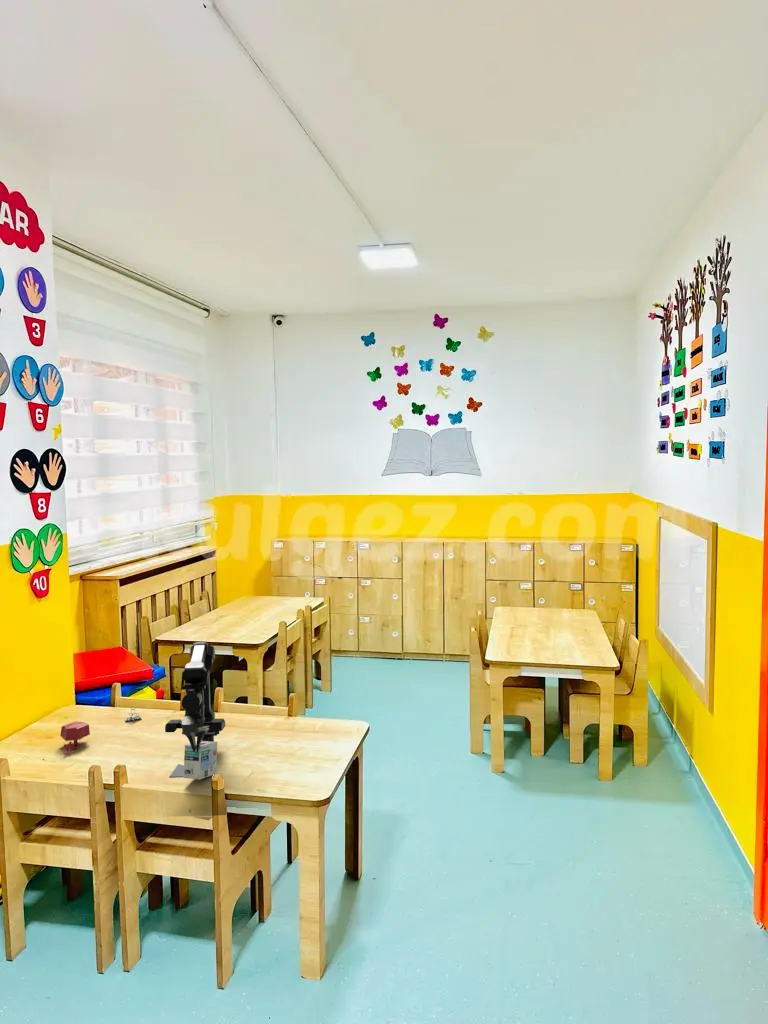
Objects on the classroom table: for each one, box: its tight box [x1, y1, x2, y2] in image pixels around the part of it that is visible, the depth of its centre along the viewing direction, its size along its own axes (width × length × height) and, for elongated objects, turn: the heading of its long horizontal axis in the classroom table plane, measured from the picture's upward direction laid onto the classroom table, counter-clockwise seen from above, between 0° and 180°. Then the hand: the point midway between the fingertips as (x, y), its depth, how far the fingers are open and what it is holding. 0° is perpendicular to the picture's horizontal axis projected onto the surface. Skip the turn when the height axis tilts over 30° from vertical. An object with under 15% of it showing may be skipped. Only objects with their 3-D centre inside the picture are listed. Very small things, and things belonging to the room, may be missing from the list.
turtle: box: [60, 720, 91, 755], centre depth 278 cm, size 15×20×9 cm
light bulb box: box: [183, 741, 218, 780], centre depth 250 cm, size 11×7×11 cm, turn 162°
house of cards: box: [124, 705, 142, 722], centre depth 310 cm, size 9×9×8 cm
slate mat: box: [169, 763, 184, 778], centre depth 258 cm, size 11×20×1 cm, turn 89°
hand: (195, 751), depth 244 cm, fingers closed
